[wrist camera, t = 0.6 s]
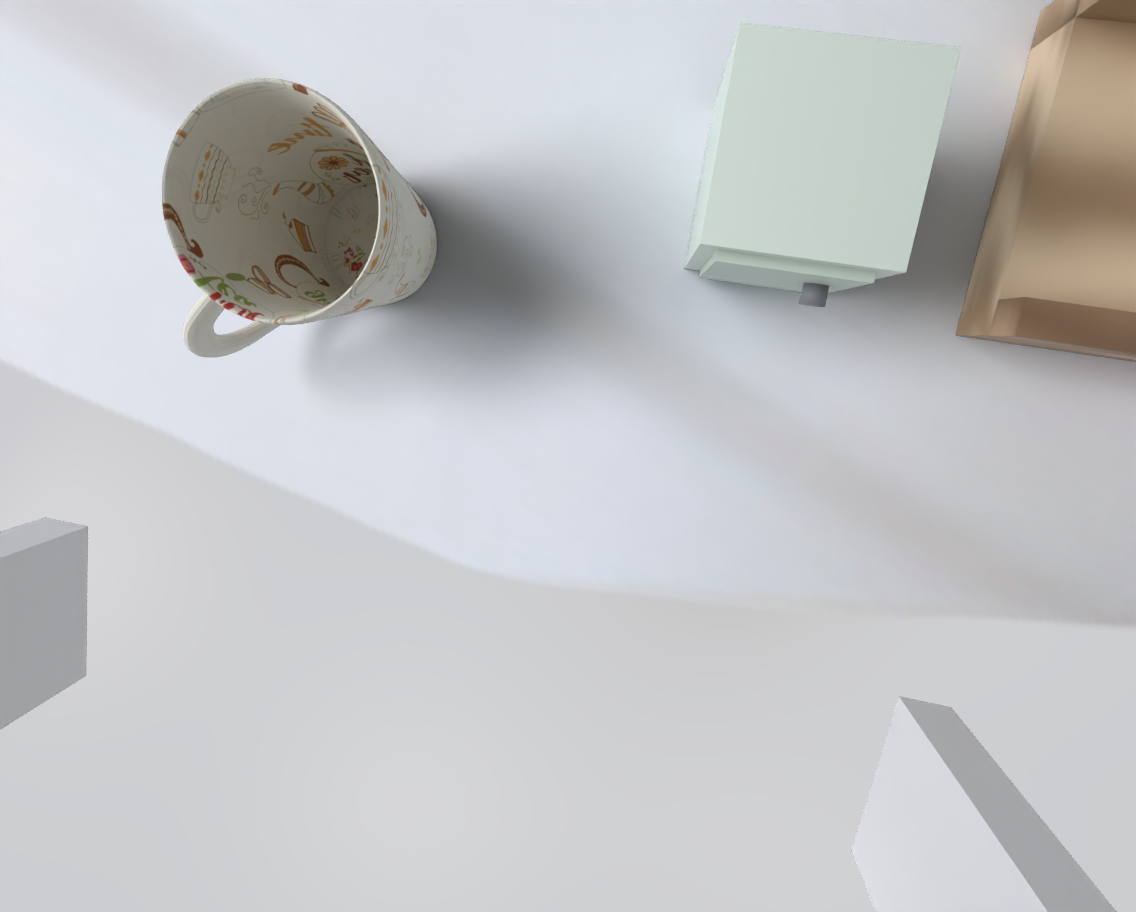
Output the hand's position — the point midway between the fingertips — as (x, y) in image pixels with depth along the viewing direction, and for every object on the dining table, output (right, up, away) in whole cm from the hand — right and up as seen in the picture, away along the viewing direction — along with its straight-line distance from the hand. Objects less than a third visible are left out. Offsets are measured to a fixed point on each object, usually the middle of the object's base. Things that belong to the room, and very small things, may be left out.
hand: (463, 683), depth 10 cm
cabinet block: (+11, +15, +20) cm, 28 cm away
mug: (-9, +13, +23) cm, 28 cm away
